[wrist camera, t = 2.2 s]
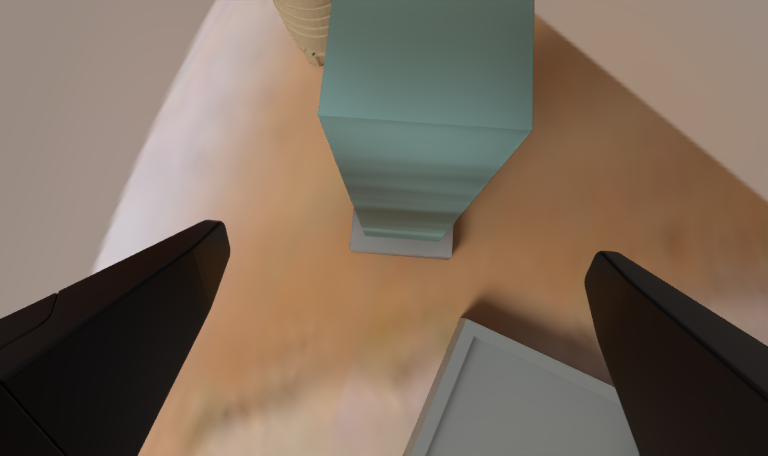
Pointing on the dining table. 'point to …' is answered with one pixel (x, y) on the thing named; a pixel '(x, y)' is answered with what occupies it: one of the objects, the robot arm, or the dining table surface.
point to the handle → (307, 25)
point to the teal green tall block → (423, 111)
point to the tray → (516, 404)
